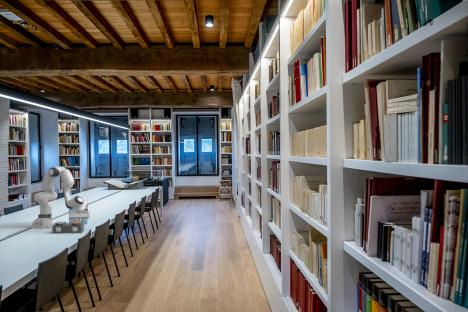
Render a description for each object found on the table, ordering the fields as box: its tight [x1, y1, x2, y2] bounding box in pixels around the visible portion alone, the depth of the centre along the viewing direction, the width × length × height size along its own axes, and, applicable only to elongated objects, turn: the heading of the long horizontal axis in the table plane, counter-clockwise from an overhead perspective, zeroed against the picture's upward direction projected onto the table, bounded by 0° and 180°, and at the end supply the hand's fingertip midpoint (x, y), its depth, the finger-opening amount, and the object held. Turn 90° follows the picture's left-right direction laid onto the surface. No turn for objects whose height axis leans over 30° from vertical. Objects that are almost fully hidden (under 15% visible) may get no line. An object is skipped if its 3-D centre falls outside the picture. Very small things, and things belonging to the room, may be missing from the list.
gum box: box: [68, 203, 89, 225], centre depth 394 cm, size 20×5×23 cm, turn 123°
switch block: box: [51, 221, 85, 234], centre depth 353 cm, size 28×10×10 cm, turn 98°
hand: (78, 221), depth 358 cm, fingers closed, pressing on rocker
